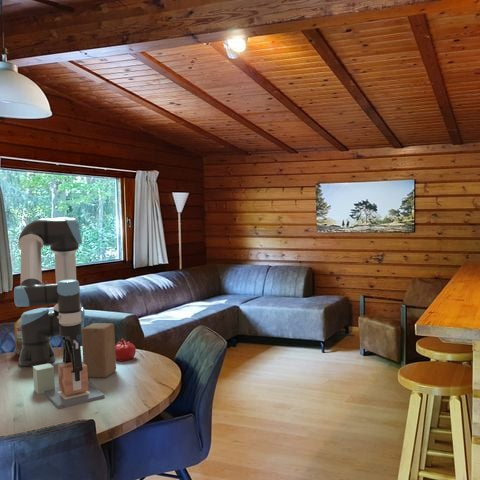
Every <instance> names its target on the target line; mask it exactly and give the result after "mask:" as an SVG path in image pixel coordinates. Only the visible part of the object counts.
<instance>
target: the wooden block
mask: <svg viewBox="0 0 480 480" xmlns="http://www.w3.org/2000/svg"><path fill="white" fill-rule="evenodd" d="M115 335H116V334H115V325H114V323H109V322H107V323H106V322H103V323H101V322H92V323H91V324H89V325H87V326H84V327H83V328H82V333H81V347H82V348H81V351H82V362H83V363H84V364H86V365H87V372H88V378H97V377H98V378H99V379H102V378H103V379H104V378H105V377H106V378H107V377H109V376H111V375H112V374H113V373H115V372H116V370H117V360H116V355H115V346H116V337H115Z"/></svg>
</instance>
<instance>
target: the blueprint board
mask: <svg viewBox="0 0 480 480" xmlns="http://www.w3.org/2000/svg"><path fill="white" fill-rule="evenodd" d="M43 394H44V396H46V397H47V398H48V399H49V401H50V402H52V403H51V404H53V405H54V406H55V407H56V409H58V410H59V409H62V408H67V407H71V406H75V405H79V404H83V403H87V402H88V403H89V402H91V401H92V402H93V401H96V400H101V399H105V398H104V397H105V394H104V393H103V392H101V390H99V388H96V387H95V385H93V384H92V383H90V382H89V381H88V391H83V392H79V393H75V394H70V395H65V394H64V393H63V392H62V391H61V390H59V387H57V388H55V389H52V390H48V391H44V393H43ZM100 398H101V399H100Z"/></svg>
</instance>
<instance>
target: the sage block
mask: <svg viewBox="0 0 480 480" xmlns="http://www.w3.org/2000/svg"><path fill="white" fill-rule="evenodd" d="M54 367H55V366H54V365H52V364H51V363H48V364H43V365H38V366H32V372H33V373H32V375H33V391H34V392H35V393H36V395H44V394H45V393H44V391H48V390H52V389H56V383H55V381H56V380H55V368H54Z"/></svg>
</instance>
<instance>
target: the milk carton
mask: <svg viewBox="0 0 480 480" xmlns="http://www.w3.org/2000/svg"><path fill="white" fill-rule="evenodd" d="M25 312H26V311H24V312H23V313H25ZM13 325H14V326H13V327H14V341H15V343H14V345H15V355H18V354H19V356H20V353H21V350H22V329H21V317H20V318H18V320H16V321H15V323H14V324H13Z"/></svg>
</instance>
